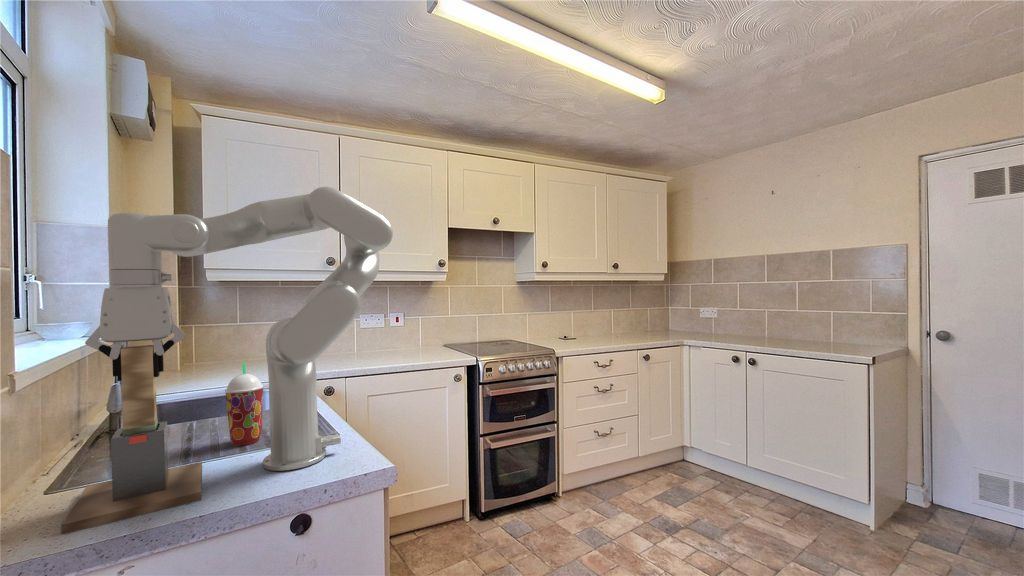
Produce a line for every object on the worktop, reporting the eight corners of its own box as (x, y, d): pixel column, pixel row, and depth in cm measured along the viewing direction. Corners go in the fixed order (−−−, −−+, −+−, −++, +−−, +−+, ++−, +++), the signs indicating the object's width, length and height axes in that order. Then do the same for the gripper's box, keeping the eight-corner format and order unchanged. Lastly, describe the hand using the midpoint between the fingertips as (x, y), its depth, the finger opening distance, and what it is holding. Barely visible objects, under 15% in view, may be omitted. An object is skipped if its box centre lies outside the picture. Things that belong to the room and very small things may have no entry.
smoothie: (257, 434, 117) (255, 359, 117) (270, 440, 111) (268, 361, 112) (221, 443, 110) (219, 364, 110) (233, 450, 105) (231, 367, 105)
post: (158, 437, 85) (155, 344, 85) (155, 443, 81) (152, 346, 81) (126, 442, 82) (123, 346, 82) (122, 449, 79) (119, 349, 79)
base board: (202, 468, 94) (201, 461, 94) (201, 500, 79) (200, 491, 79) (87, 493, 84) (87, 485, 84) (61, 534, 69) (61, 524, 69)
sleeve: (168, 476, 87) (167, 421, 87) (165, 490, 80) (163, 430, 80) (119, 487, 83) (117, 428, 83) (112, 502, 76) (110, 439, 76)
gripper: (192, 280, 90) (195, 369, 90) (78, 281, 80) (81, 381, 80) (191, 279, 84) (194, 374, 84) (68, 280, 74) (71, 388, 74)
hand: (139, 377), depth 82 cm, fingers closed on post, 4 cm apart
